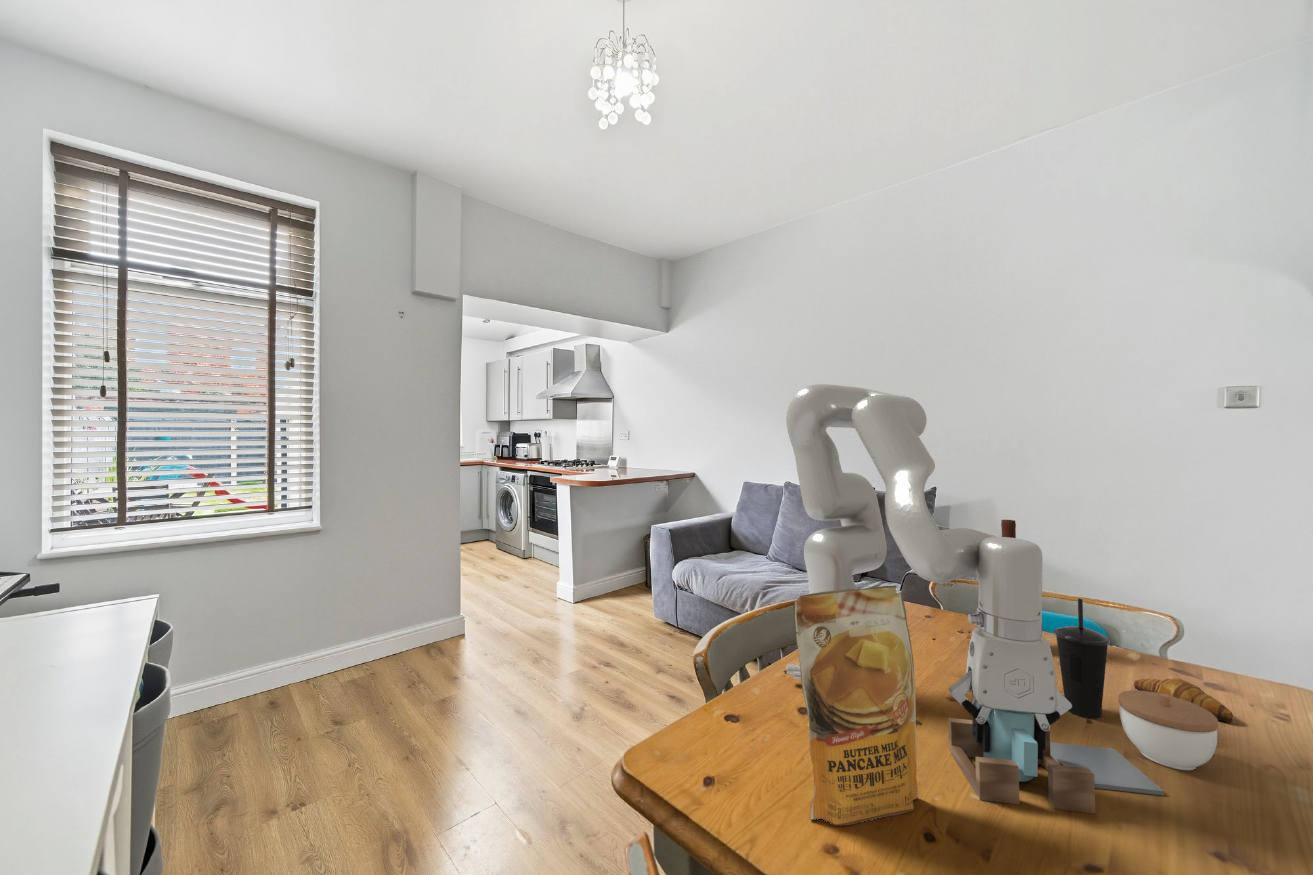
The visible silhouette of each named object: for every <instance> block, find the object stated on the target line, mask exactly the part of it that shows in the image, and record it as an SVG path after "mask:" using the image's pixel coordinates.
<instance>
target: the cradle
mask: <svg viewBox="0 0 1313 875" xmlns="http://www.w3.org/2000/svg"><path fill="white" fill-rule="evenodd" d="M947 720H948V723H947V726H948V751H949V753H950V755H951V756H952V757H953V760H954V761H955V763H956V764H957V765H958V767H959V768H960V770H961V772H962V774H963V775H964V776H965V778H966V780H967V781H968V783H969V785H970V787H972V789H973V791H974V792H975V794H976V796H977V797H978V799H979V800H980V801H986V802H987V801H988V802H994V801H995V802H996V803H1004V804H1012V805H1020V781H1019V766H1018V765H1017V764H1016V762H1015V761H1013V760H1003V759H994V758H984V757H983V751H982V749H981V748H980V746H979V745H978V744H977V742H975V741H974V739H973V735H972V720H973V719H963V718H952V717H948V718H947ZM1050 742H1051V731H1050V729H1049V730H1048V731H1045V750H1043V759H1038V765H1041V766H1042V767H1043V768H1044V769H1045V770H1046V771H1047V780H1048V781H1047V787H1048V788H1047V789H1048V793H1047V794H1048V803H1049V805H1050V806H1051V807H1052V808H1053V809H1054V810H1060V811H1061V810H1063V811H1071V812H1080V813H1087V814H1096V790H1095V789H1096V788H1095V783H1094V773H1093V772H1092V771H1090V770H1089V769H1088V768H1080V767H1070V766H1060V765H1059V764H1058V763H1057V761H1056V760H1055V759H1054V758H1053V757H1052V756H1051V755H1050ZM970 758H974V759H975V766H974V764H973V763H972V761H971V760H970Z"/></svg>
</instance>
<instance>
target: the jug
mask: <svg viewBox="0 0 1313 875" xmlns="http://www.w3.org/2000/svg"><path fill="white" fill-rule="evenodd" d="M986 722H987V723H988V725H989V726H990V752H988V753H986V752H983V757H984V758H994V759H1003V760H1013V761H1015V762H1016V764H1017V765H1018V766H1019V782H1029V781H1032V780H1033V779H1034V777H1038V768H1039V767H1038V766H1039V764H1038V743H1037V742H1036V741H1035V740H1034V714H1033V713H1024V712H1014V711H1005V710H996V709H991V711H990V713H989V715H988V718H987V720H986Z"/></svg>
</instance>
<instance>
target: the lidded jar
mask: <svg viewBox="0 0 1313 875" xmlns="http://www.w3.org/2000/svg"><path fill="white" fill-rule="evenodd" d="M1117 702H1118V704H1119V706H1118V708H1119V717H1120V722H1121V724H1122V728H1123V730H1124V733H1125V734H1126V736H1127V738H1128V739H1129V741H1130V742H1131V743H1132V744H1133V745H1134V746H1135V748H1137V749H1138V750H1139V752H1140V753H1141V755H1142V756H1144V757H1145V758H1147V759H1148V760H1150V761H1151V762H1153V763H1156V764H1158V765H1161V766H1164V767H1166V768H1170V769H1173V770H1174V769H1175V770H1179V771H1187V772H1188V771H1193V770H1194V769H1195V770H1196V769H1197V768H1196V767H1200V766H1202V765H1204V764H1207V763H1208V762H1209V761H1211V759H1212V757H1213V756H1214V754H1215V752H1216V748H1217V744H1218V728H1219V720H1218V719H1217V718H1216V717H1215V716H1214V715H1213V714H1212V713H1211V712H1209V711H1208V710H1206V709H1204V708H1202V707H1200V706H1198V705H1195V704H1193V703H1191V702H1188V701H1185V700H1182V699H1179V698H1176V697H1172V696H1168V695H1165V694H1160V693H1154V692H1148V691H1138V690H1137V689H1134V690H1133V689H1132V690H1125V691H1121V692H1119V694H1118V696H1117ZM1195 770H1194V771H1195Z"/></svg>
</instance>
